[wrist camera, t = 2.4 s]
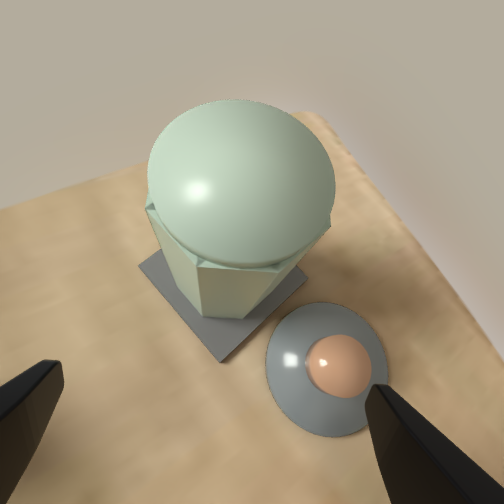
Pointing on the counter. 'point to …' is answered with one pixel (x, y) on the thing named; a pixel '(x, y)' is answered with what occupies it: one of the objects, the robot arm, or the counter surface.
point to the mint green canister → (237, 201)
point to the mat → (212, 328)
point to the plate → (295, 377)
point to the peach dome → (338, 366)
